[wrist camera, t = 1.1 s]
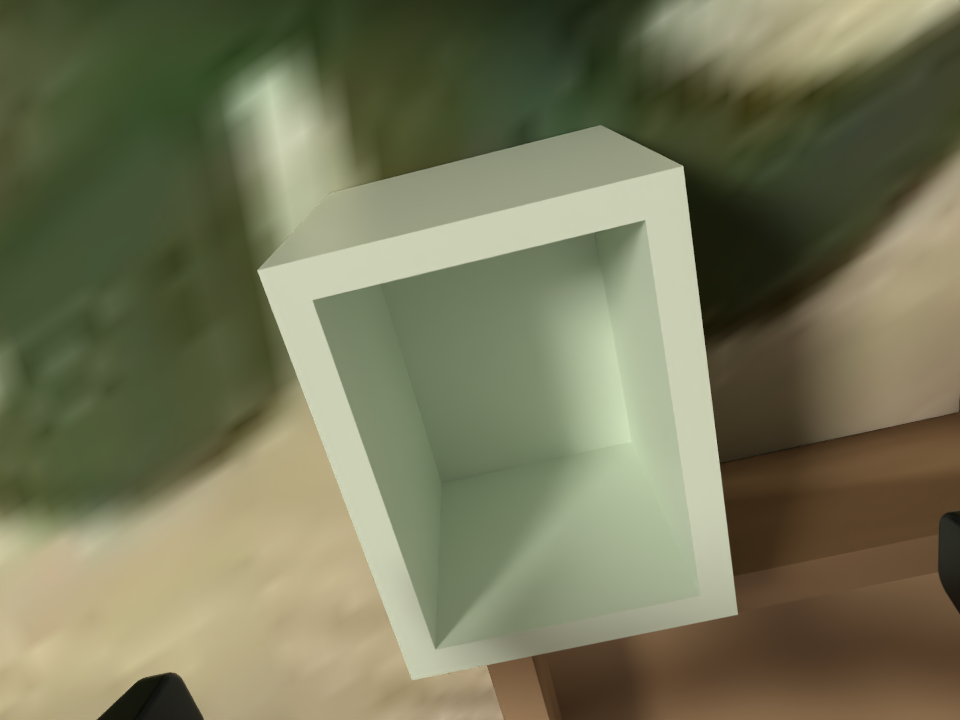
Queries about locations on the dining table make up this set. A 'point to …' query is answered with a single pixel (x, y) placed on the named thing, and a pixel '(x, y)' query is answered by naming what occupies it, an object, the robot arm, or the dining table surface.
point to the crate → (794, 600)
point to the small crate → (515, 397)
